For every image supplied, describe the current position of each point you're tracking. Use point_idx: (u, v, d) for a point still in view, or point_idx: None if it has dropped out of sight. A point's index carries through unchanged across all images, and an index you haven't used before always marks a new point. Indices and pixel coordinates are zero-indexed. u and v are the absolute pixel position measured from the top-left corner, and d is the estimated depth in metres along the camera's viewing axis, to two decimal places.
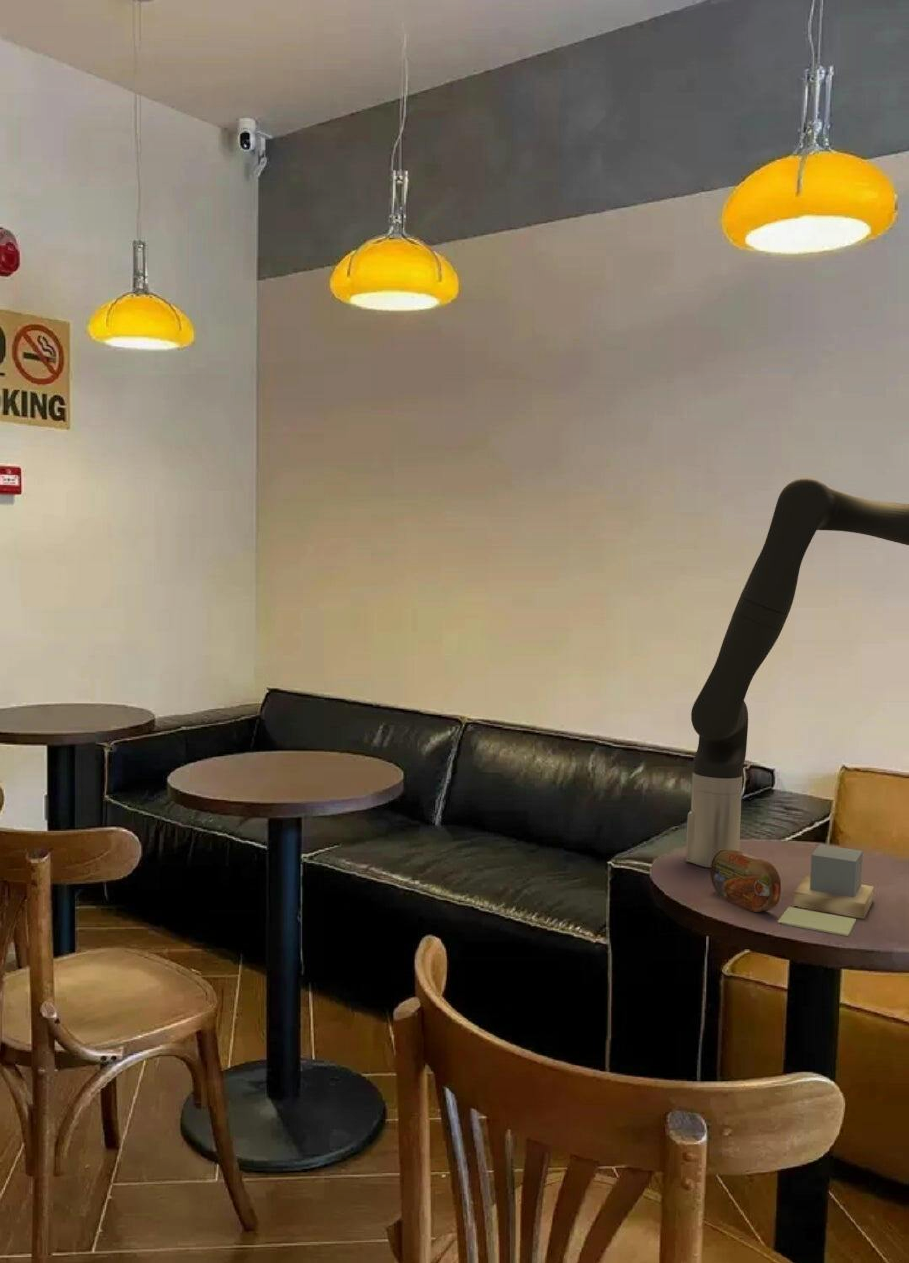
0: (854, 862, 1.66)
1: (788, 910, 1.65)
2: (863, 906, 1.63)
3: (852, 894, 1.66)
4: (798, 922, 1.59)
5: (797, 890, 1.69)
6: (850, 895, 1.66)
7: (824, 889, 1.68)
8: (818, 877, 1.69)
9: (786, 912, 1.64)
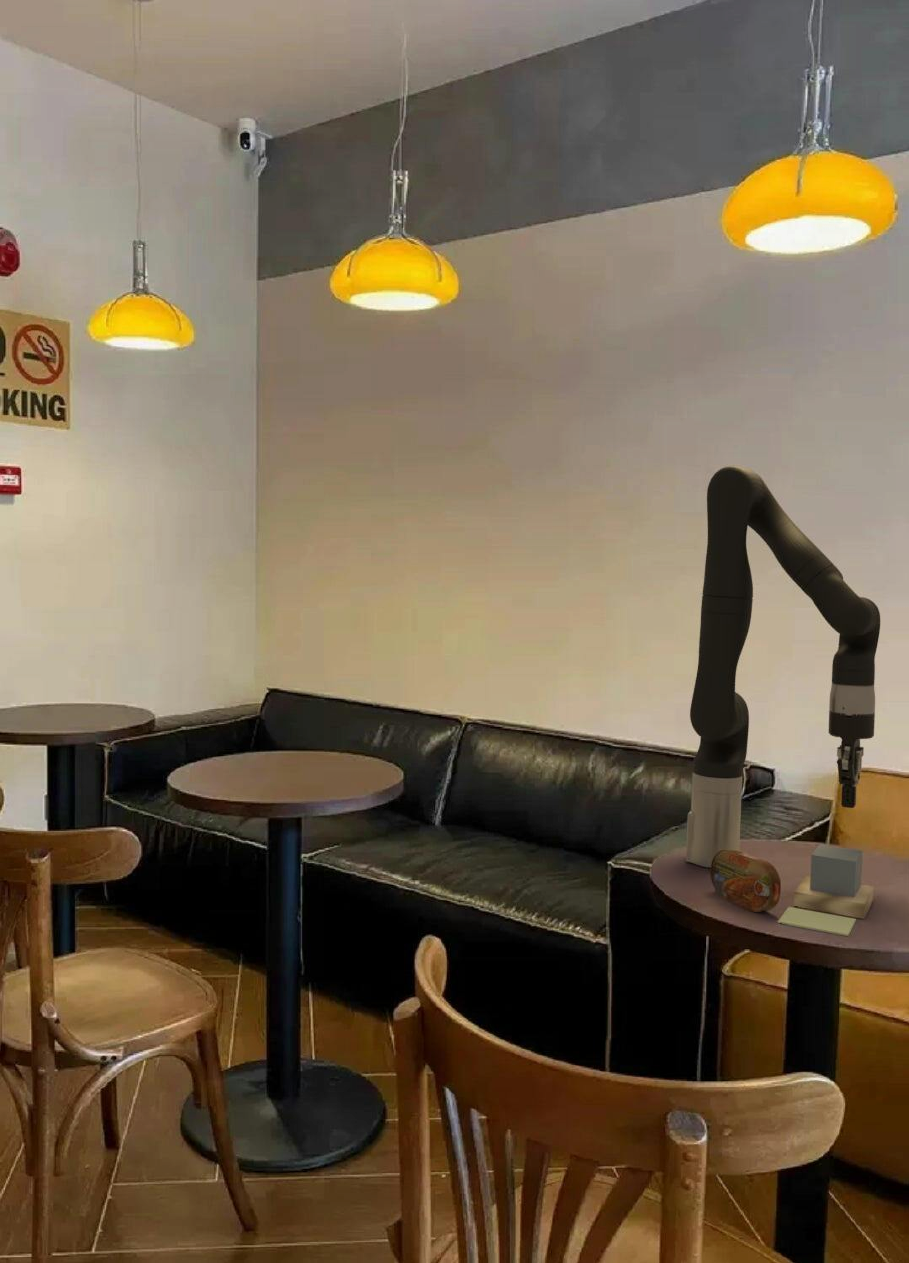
0: (854, 862, 1.66)
1: (788, 910, 1.65)
2: (863, 906, 1.63)
3: (852, 894, 1.66)
4: (798, 922, 1.59)
5: (797, 890, 1.69)
6: (850, 895, 1.66)
7: (824, 889, 1.68)
8: (818, 877, 1.69)
9: (786, 912, 1.64)
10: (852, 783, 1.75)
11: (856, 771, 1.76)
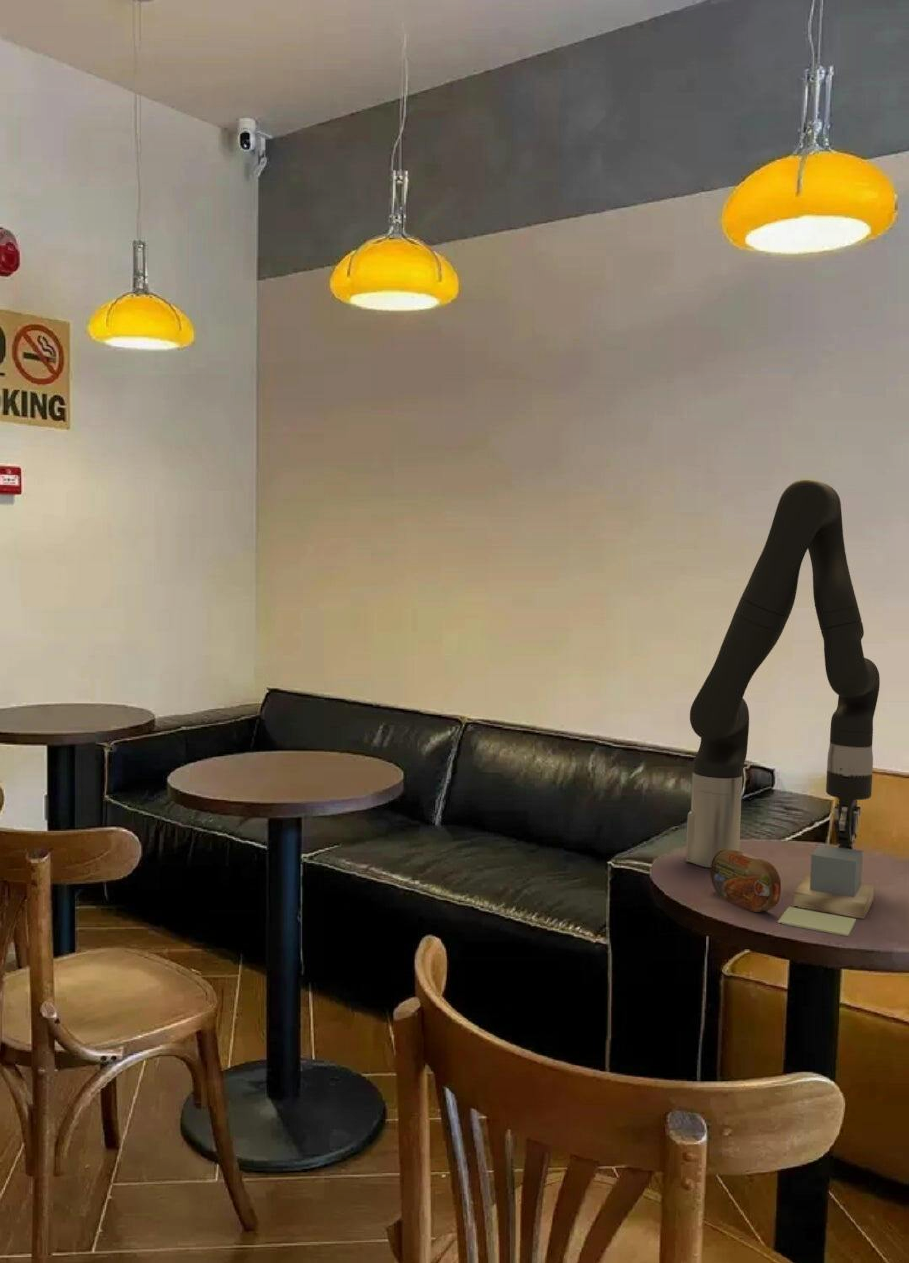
0: (854, 862, 1.66)
1: (788, 910, 1.65)
2: (863, 906, 1.63)
3: (852, 894, 1.66)
4: (798, 922, 1.59)
5: (797, 890, 1.69)
6: (850, 895, 1.66)
7: (824, 889, 1.68)
8: (818, 877, 1.69)
9: (786, 912, 1.64)
10: (849, 844, 1.76)
11: (853, 831, 1.77)
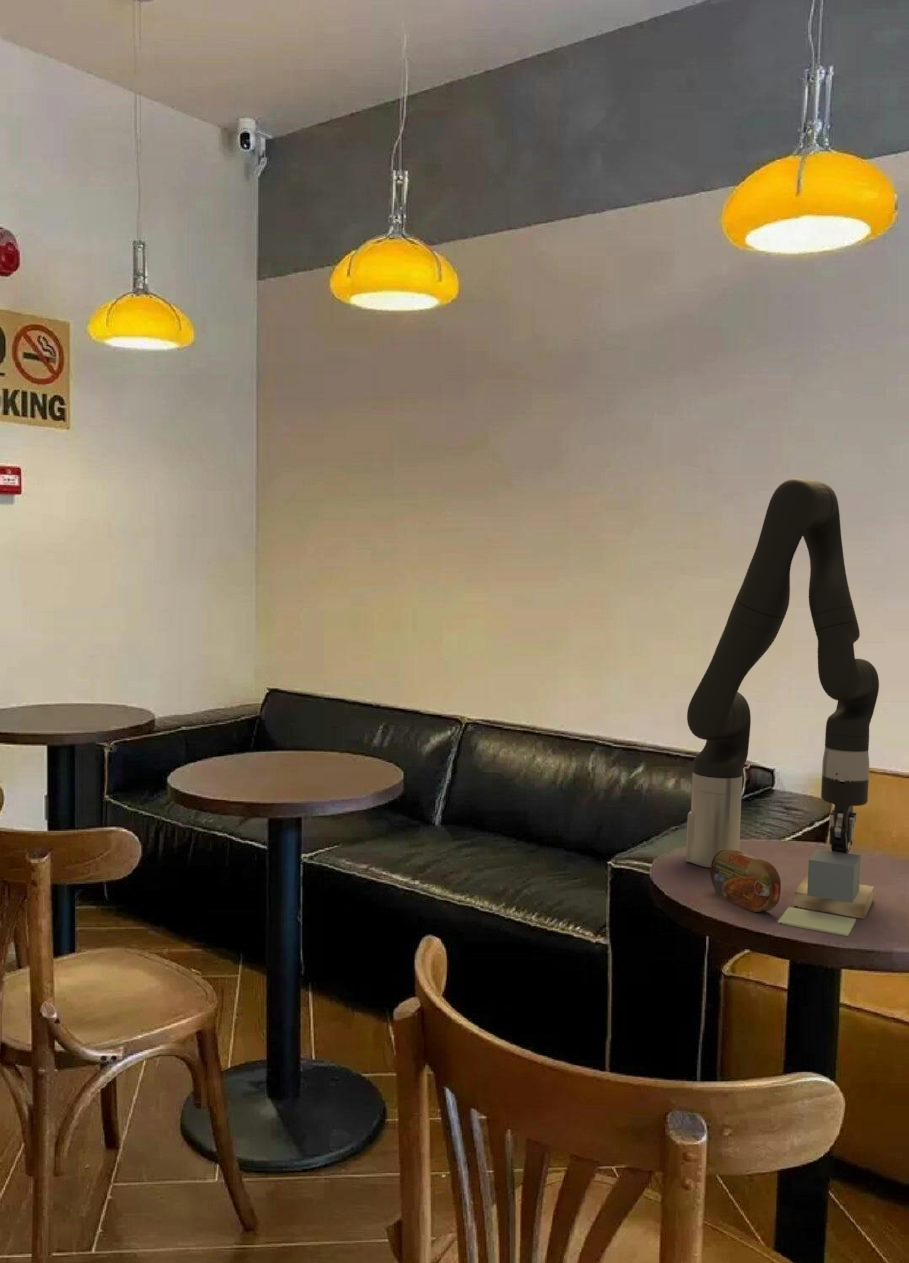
0: (852, 867, 1.63)
1: (788, 910, 1.65)
2: (863, 906, 1.63)
3: (850, 900, 1.63)
4: (798, 922, 1.59)
5: (797, 890, 1.69)
6: (848, 901, 1.63)
7: (822, 894, 1.65)
8: (816, 882, 1.66)
9: (786, 912, 1.64)
10: (845, 851, 1.70)
11: (849, 838, 1.72)
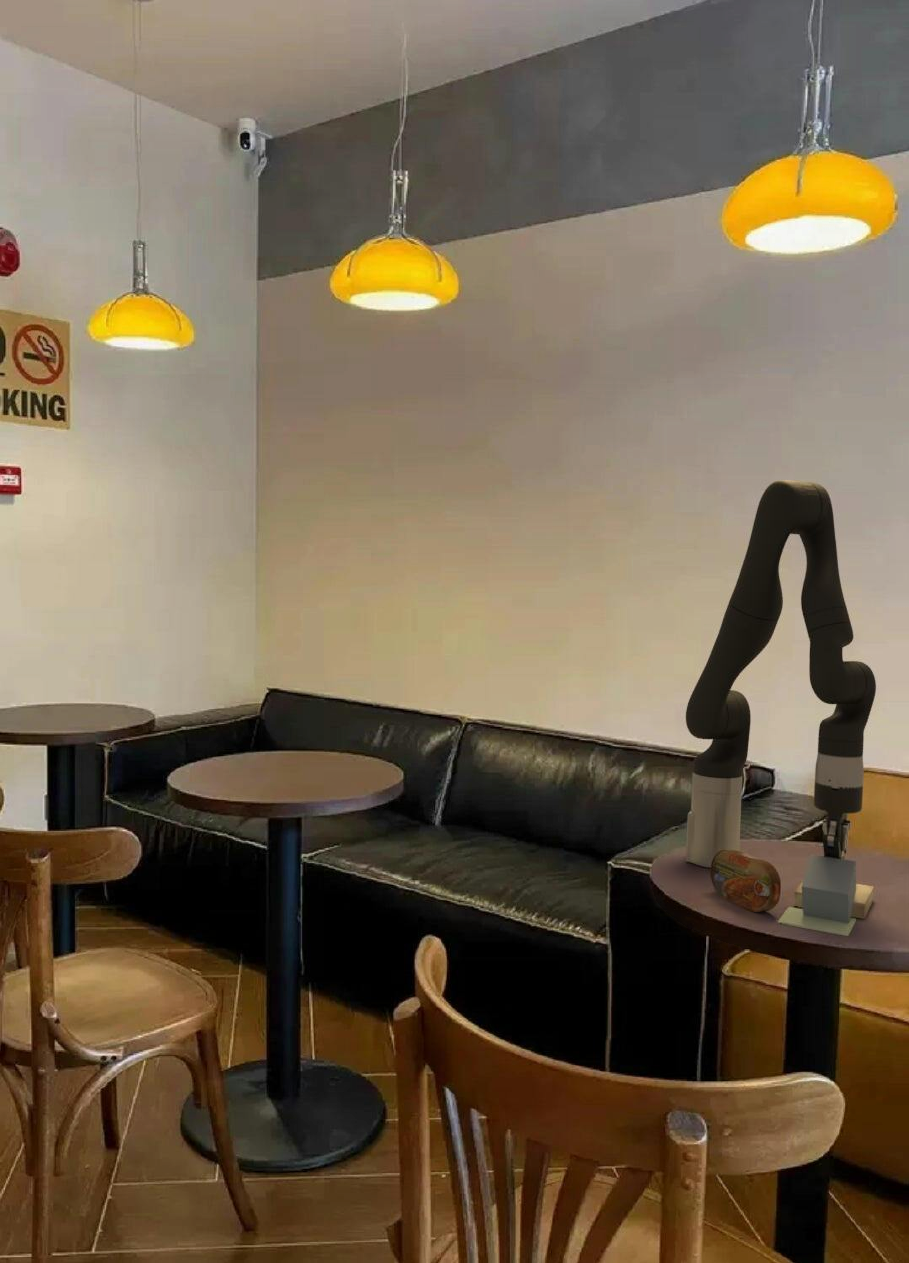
0: (846, 895, 1.57)
1: (788, 910, 1.65)
2: (863, 906, 1.63)
3: (847, 920, 1.60)
4: (798, 922, 1.59)
5: (797, 890, 1.69)
6: (845, 921, 1.60)
7: (818, 915, 1.62)
8: (811, 905, 1.61)
9: (786, 912, 1.64)
10: None
11: (842, 847, 1.66)
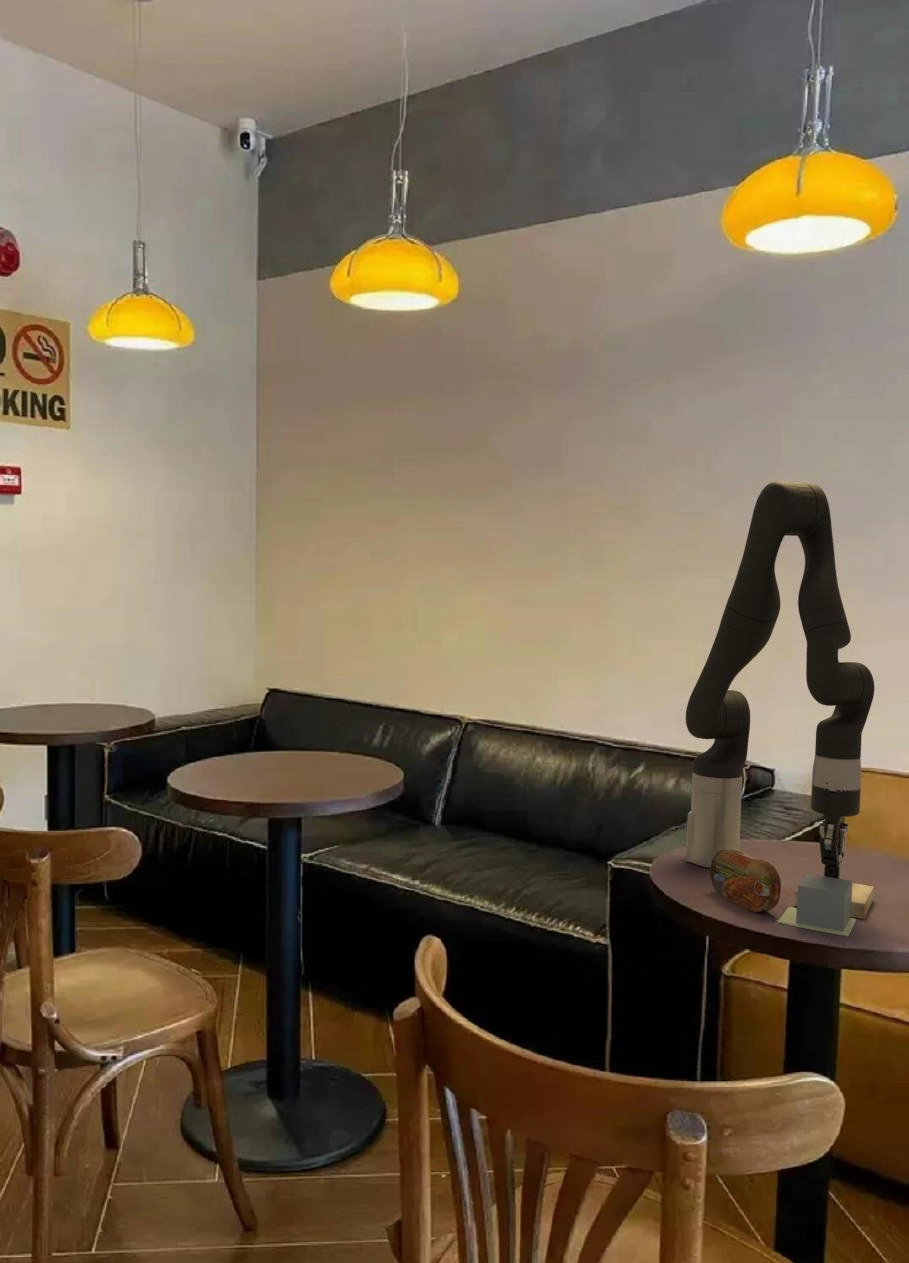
0: (843, 894, 1.55)
1: (788, 910, 1.65)
2: (863, 906, 1.63)
3: (841, 928, 1.56)
4: None
5: (797, 890, 1.69)
6: (839, 929, 1.56)
7: (811, 922, 1.58)
8: (805, 910, 1.58)
9: (786, 912, 1.64)
10: (835, 864, 1.62)
11: (840, 850, 1.63)
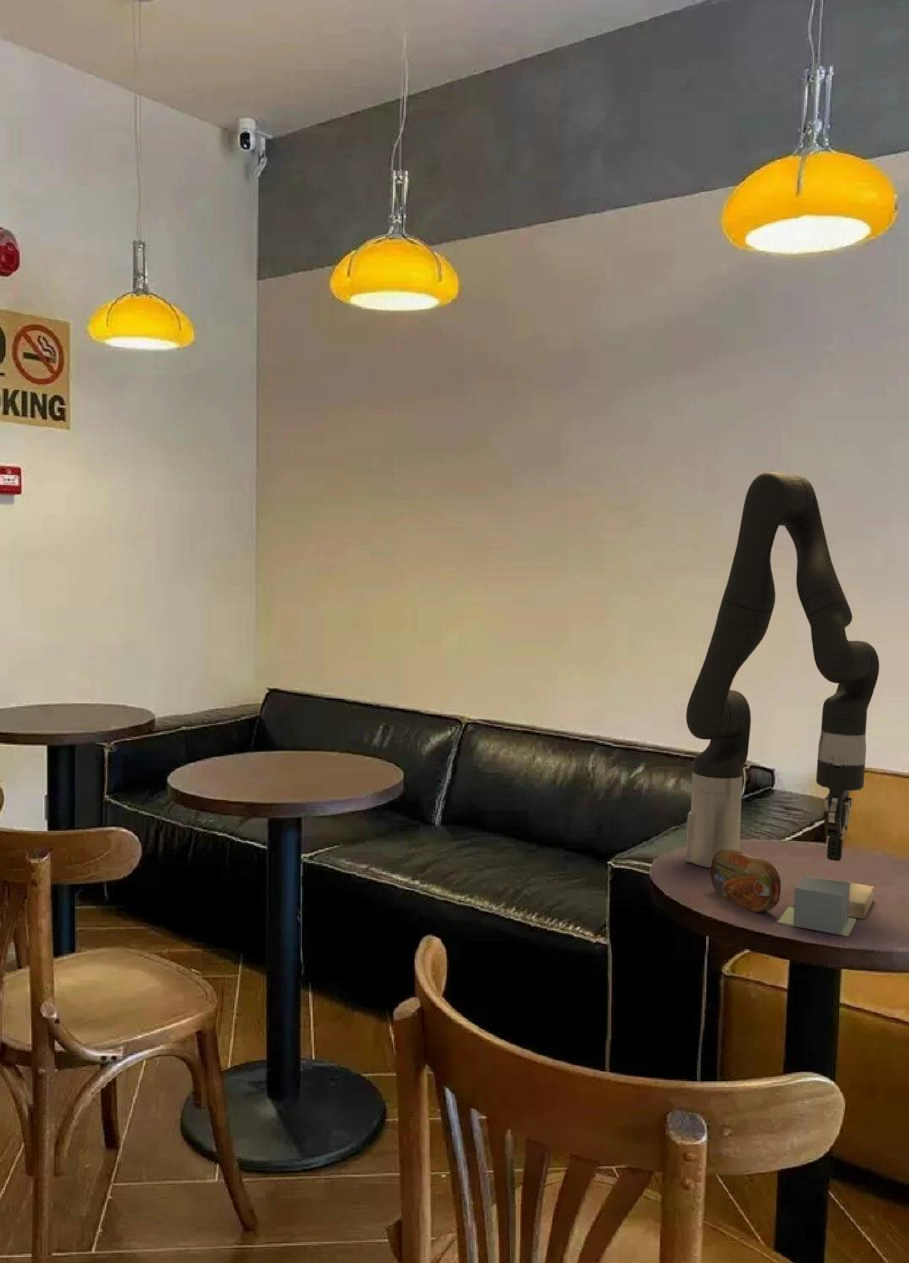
0: (840, 896, 1.54)
1: (788, 910, 1.65)
2: (863, 906, 1.63)
3: (838, 931, 1.54)
4: None
5: None
6: (836, 932, 1.55)
7: (809, 925, 1.57)
8: (802, 912, 1.57)
9: (786, 912, 1.64)
10: (839, 836, 1.67)
11: (843, 823, 1.68)
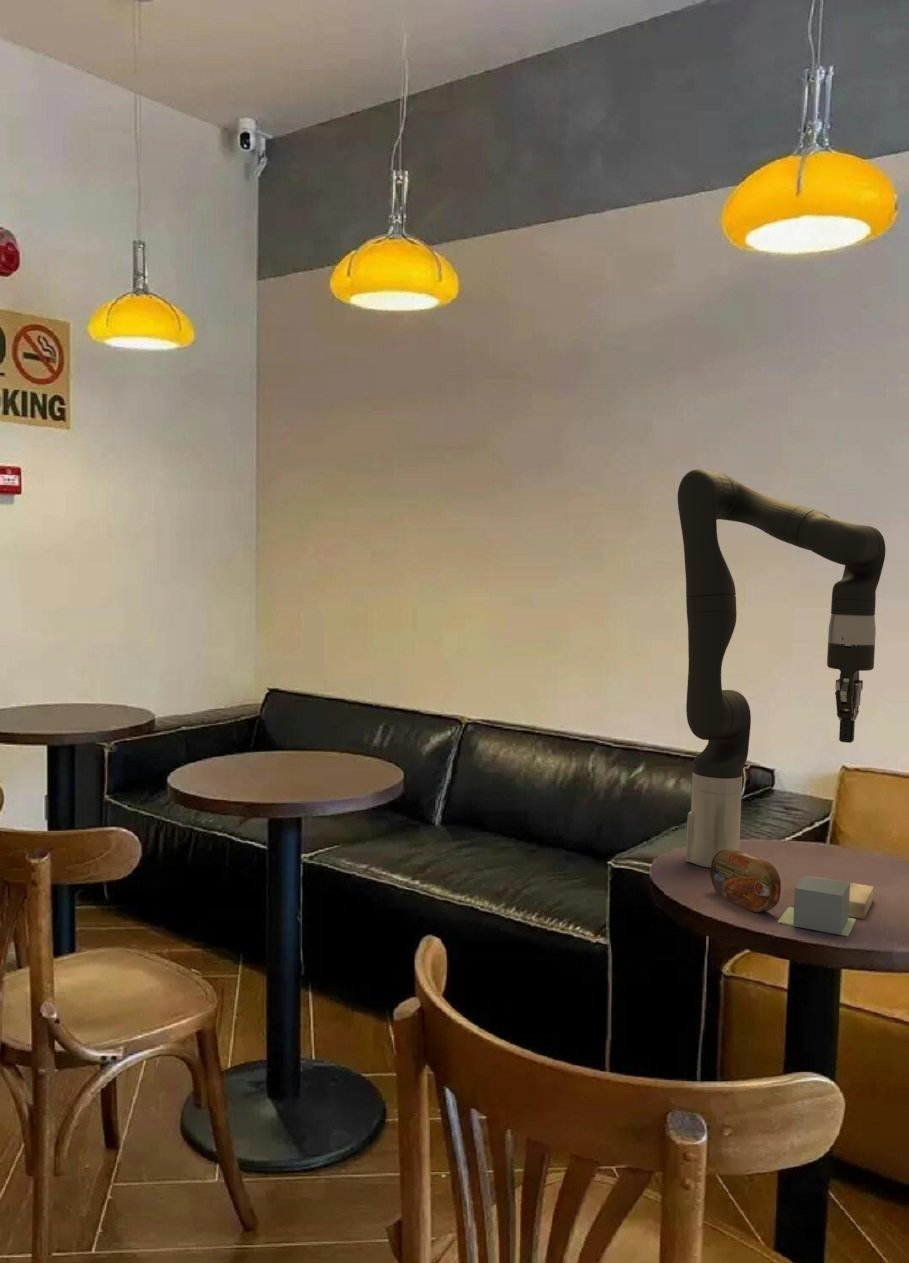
0: (840, 896, 1.54)
1: (788, 910, 1.65)
2: (863, 906, 1.63)
3: (838, 931, 1.54)
4: None
5: None
6: (836, 932, 1.55)
7: (809, 925, 1.57)
8: (802, 912, 1.57)
9: (786, 912, 1.64)
10: (850, 716, 1.70)
11: (855, 704, 1.71)
